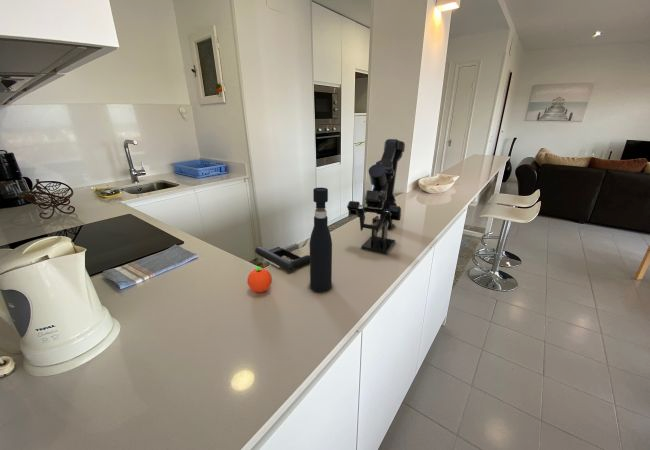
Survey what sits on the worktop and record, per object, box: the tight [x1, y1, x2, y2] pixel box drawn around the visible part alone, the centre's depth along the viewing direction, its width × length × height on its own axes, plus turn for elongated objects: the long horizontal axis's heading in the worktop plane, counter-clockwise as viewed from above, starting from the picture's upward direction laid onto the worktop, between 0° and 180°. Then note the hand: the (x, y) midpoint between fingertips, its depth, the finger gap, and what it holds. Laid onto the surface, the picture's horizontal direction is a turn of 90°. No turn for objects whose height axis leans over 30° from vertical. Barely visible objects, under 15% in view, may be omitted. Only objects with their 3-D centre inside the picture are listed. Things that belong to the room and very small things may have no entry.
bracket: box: [360, 215, 396, 255], centre depth 108 cm, size 12×10×12 cm
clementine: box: [247, 266, 273, 293], centre depth 81 cm, size 8×7×7 cm
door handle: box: [254, 243, 310, 273], centre depth 100 cm, size 3×20×16 cm
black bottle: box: [309, 187, 333, 293], centre depth 78 cm, size 6×6×30 cm
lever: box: [363, 218, 380, 230], centre depth 102 cm, size 14×5×2 cm, turn 151°
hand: (368, 231), depth 95 cm, fingers closed on lever, 5 cm apart
